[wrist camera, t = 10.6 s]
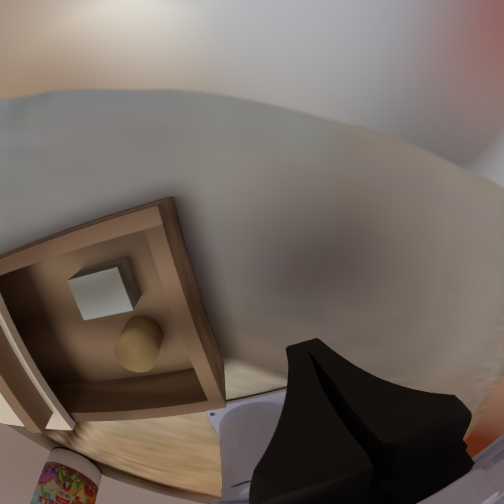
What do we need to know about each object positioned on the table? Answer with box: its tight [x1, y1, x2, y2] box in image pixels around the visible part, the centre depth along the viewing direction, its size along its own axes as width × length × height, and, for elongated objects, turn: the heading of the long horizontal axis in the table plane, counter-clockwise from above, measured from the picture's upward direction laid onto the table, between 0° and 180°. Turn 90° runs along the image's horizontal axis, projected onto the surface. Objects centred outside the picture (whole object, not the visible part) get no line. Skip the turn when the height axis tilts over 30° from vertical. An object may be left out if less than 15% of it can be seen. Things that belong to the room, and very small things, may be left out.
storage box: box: [0, 197, 226, 421], centre depth 18 cm, size 14×20×5 cm
